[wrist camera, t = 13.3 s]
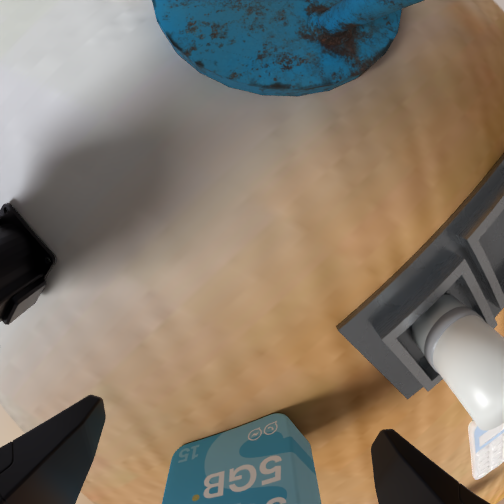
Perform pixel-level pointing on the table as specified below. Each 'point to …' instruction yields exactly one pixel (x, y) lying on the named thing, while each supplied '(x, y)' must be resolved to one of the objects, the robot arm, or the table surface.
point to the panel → (436, 287)
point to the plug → (465, 357)
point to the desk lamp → (281, 40)
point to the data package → (245, 467)
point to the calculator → (485, 449)
